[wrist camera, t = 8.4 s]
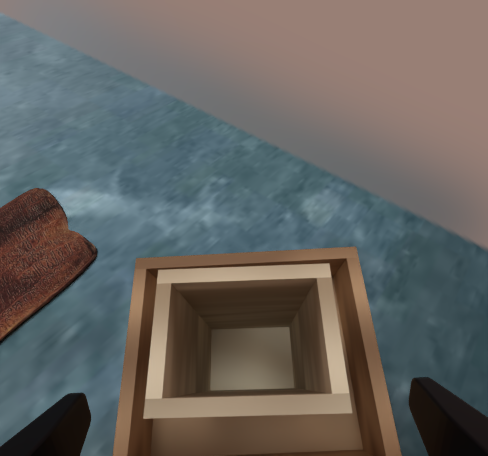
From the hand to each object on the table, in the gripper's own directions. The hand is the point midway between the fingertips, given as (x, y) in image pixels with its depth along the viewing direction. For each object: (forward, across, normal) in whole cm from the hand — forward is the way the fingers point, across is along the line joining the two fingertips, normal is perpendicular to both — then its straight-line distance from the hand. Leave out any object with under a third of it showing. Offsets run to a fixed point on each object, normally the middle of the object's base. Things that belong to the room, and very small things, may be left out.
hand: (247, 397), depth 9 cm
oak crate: (+10, 0, +8) cm, 13 cm away
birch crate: (+10, 0, +7) cm, 12 cm away
